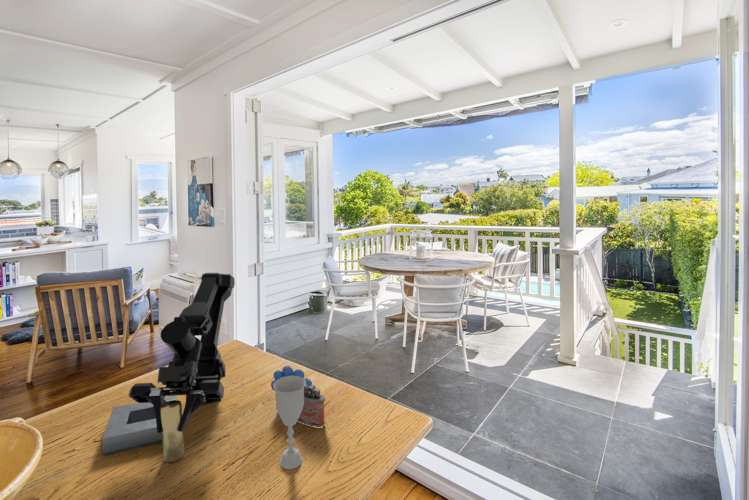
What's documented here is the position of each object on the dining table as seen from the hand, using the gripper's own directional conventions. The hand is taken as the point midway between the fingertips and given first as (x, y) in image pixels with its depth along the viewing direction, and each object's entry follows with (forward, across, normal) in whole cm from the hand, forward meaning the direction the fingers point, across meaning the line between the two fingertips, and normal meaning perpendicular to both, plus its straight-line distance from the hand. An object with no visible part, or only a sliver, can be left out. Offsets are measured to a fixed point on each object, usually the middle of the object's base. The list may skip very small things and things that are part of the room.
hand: (169, 432), depth 81 cm
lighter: (-3, +30, +13) cm, 32 cm away
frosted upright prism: (+4, 0, +6) cm, 7 cm away
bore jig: (-4, -11, +14) cm, 18 cm away
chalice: (+7, +26, +3) cm, 27 cm away
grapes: (-7, +24, +18) cm, 31 cm away
